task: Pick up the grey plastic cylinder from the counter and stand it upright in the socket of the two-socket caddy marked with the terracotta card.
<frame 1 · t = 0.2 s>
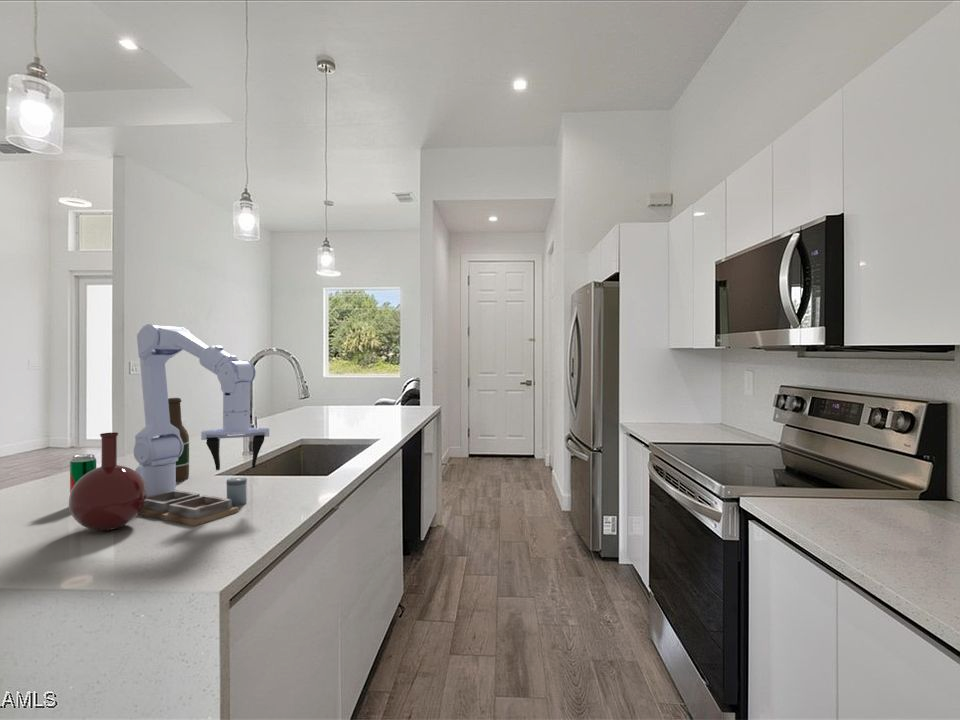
hand: (236, 468, 121), 10 cm above the countertop, fingers open, 7 cm apart
grey plastic cylinder: (236, 503, 125), on the countertop
caddy: (184, 512, 118), on the countertop
beer bottle: (173, 480, 148), on the countertop
soda can: (83, 506, 123), on the countertop
round-bottom flask: (109, 529, 106), on the countertop
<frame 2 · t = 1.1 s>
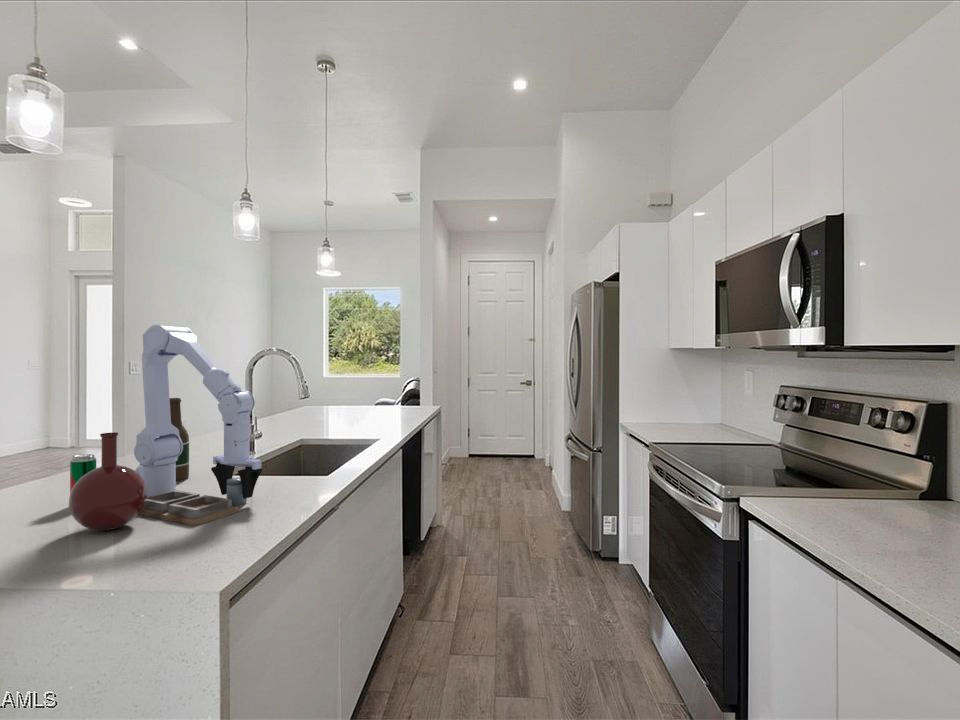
hand: (236, 495, 125), 2 cm above the countertop, fingers open, 7 cm apart
nothing on the countertop moved.
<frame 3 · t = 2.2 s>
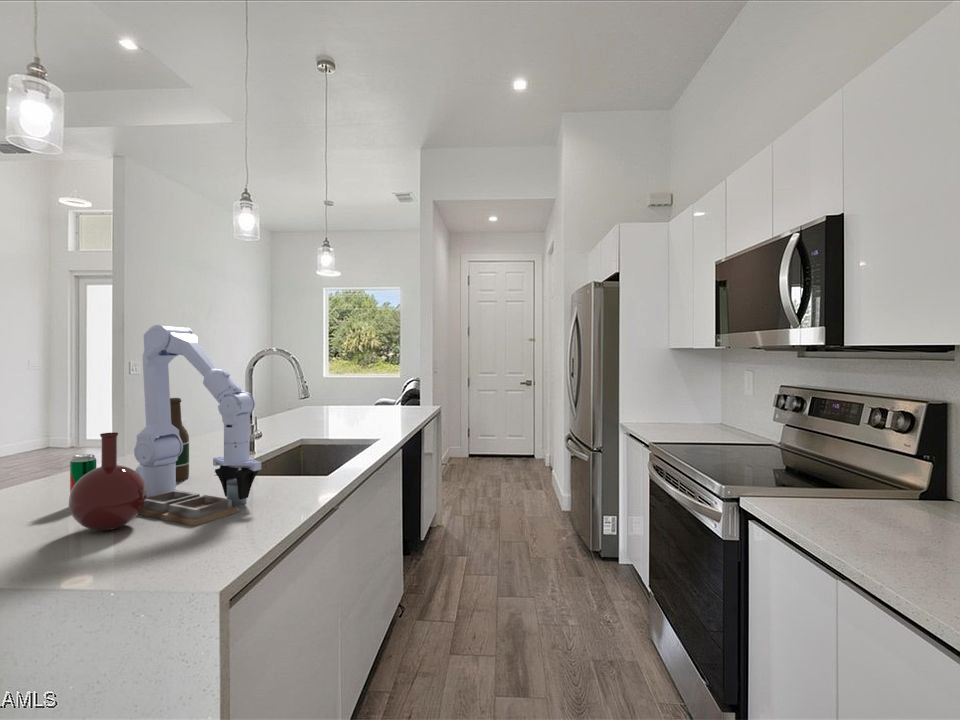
hand: (236, 497, 125), 2 cm above the countertop, fingers closed on grey plastic cylinder, 4 cm apart
grey plastic cylinder: (236, 503, 125), on the countertop, touching gripper
everything else where it was.
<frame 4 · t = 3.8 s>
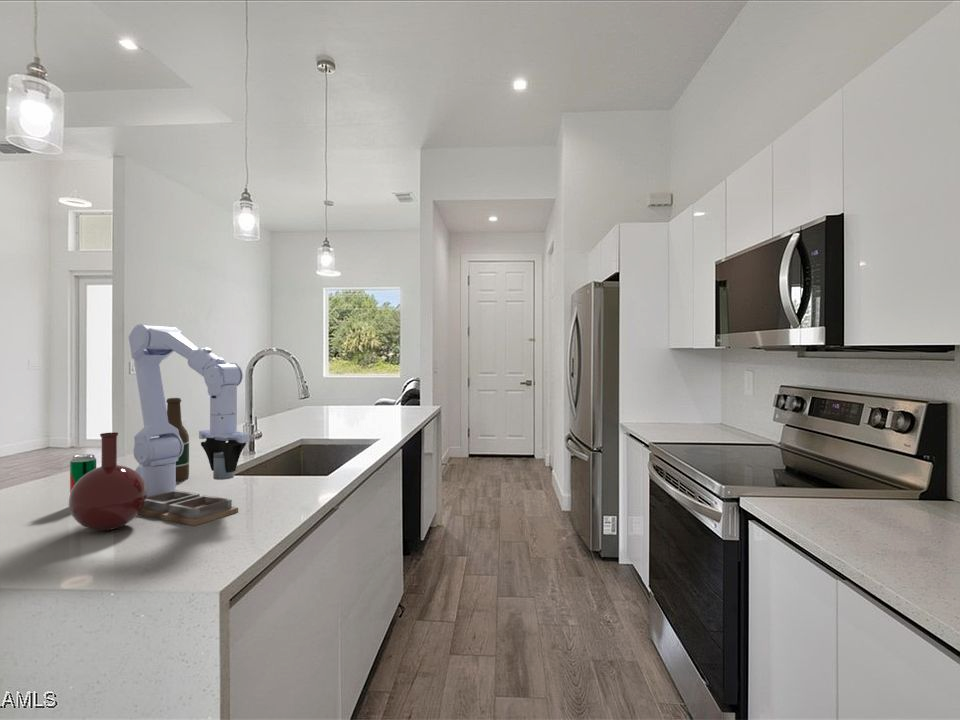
hand: (223, 470, 121), 9 cm above the countertop, fingers closed on grey plastic cylinder, 4 cm apart
grey plastic cylinder: (223, 477, 121), point 7 cm above the countertop, touching gripper
everything else where it was.
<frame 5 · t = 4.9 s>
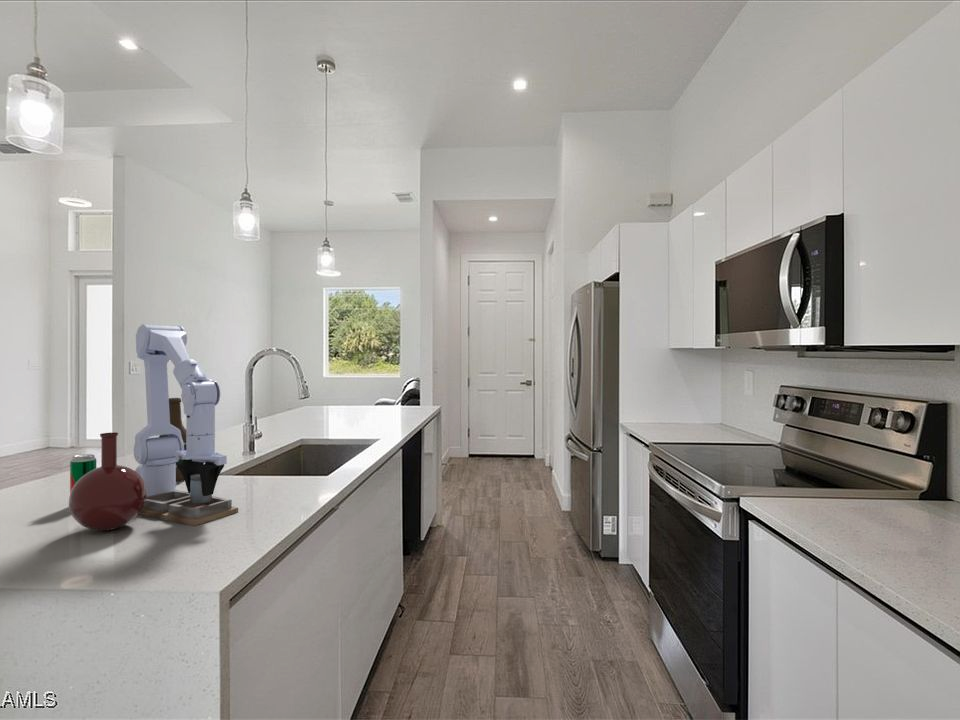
hand: (200, 493, 115), 5 cm above the countertop, fingers closed on grey plastic cylinder, 4 cm apart
grey plastic cylinder: (201, 501, 115), point 3 cm above the countertop, touching gripper
everything else where it was.
when the fingers open (5 cm above the countertop, at t = 5.8 s): grey plastic cylinder drops 2 cm, resting on caddy.
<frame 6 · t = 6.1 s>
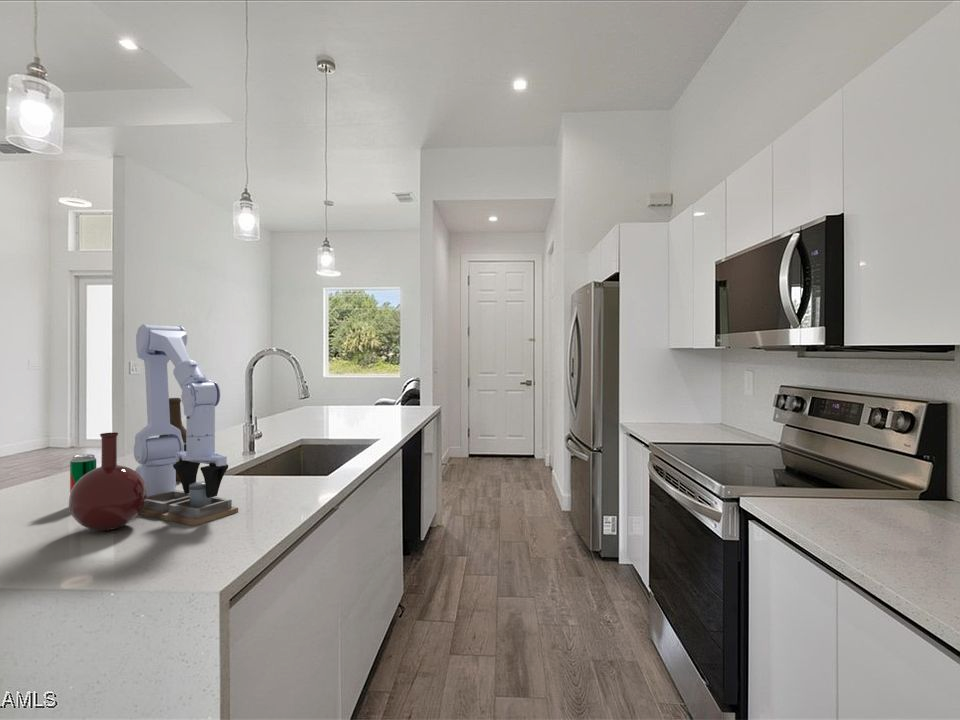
hand: (200, 494, 115), 5 cm above the countertop, fingers open, 7 cm apart
grey plastic cylinder: (200, 509, 115), point 1 cm above the countertop, touching caddy
everything else where it was.
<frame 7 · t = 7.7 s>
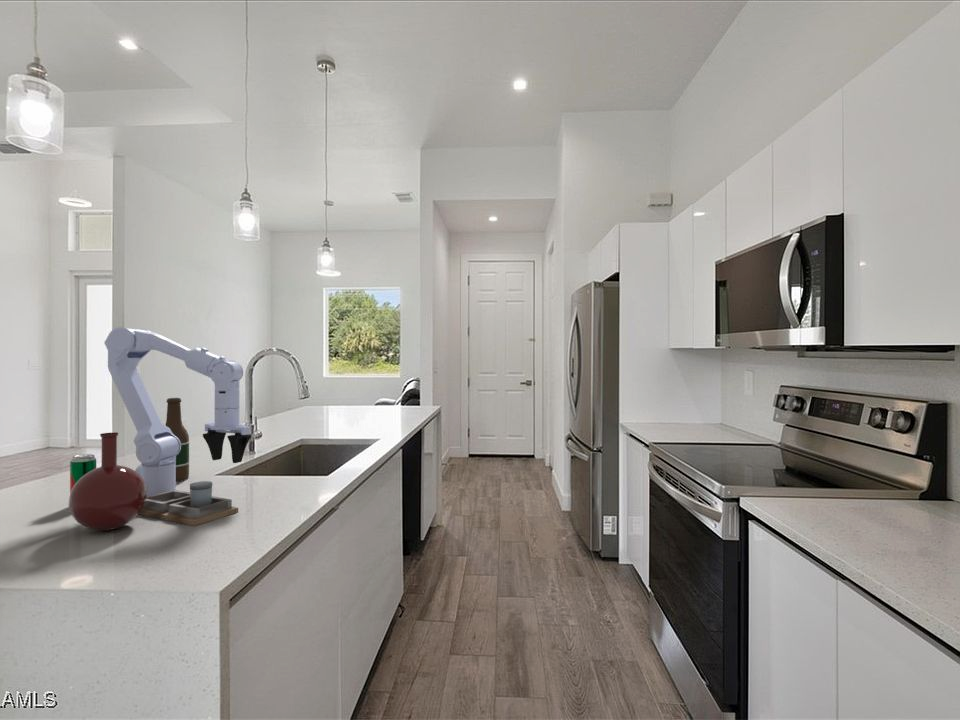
hand: (226, 461, 130), 9 cm above the countertop, fingers open, 7 cm apart
nothing on the countertop moved.
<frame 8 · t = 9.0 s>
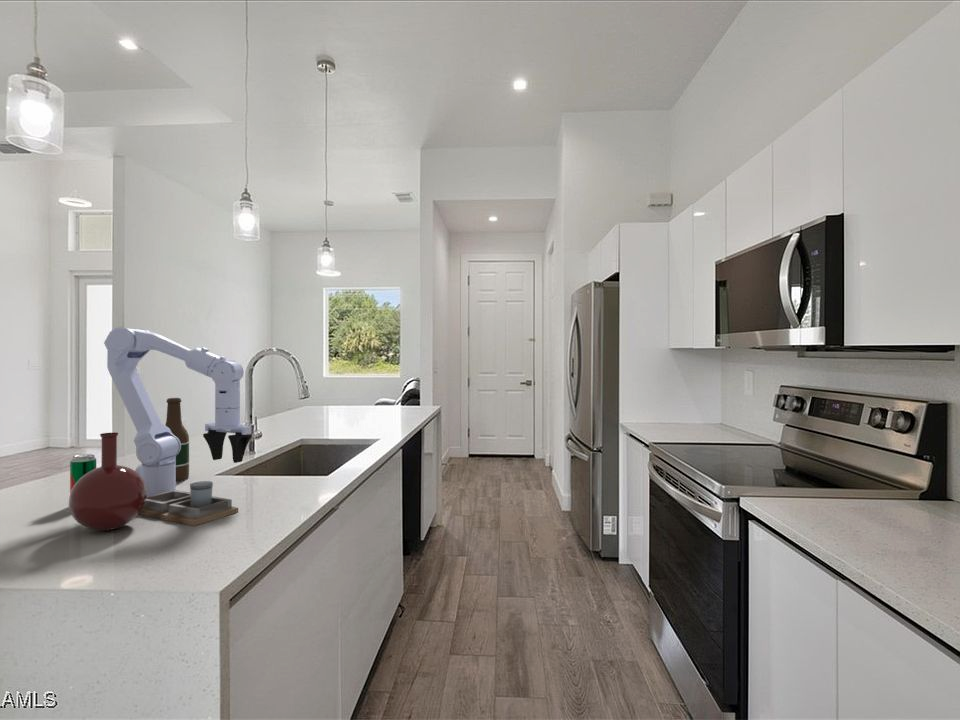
hand: (227, 460, 130), 9 cm above the countertop, fingers open, 7 cm apart
nothing on the countertop moved.
at the end: grey plastic cylinder 0.1 cm from the target spot on the caddy, point 1.2 cm above the caddy's base; grey plastic cylinder tilted 1°; the gripper is holding nothing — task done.
